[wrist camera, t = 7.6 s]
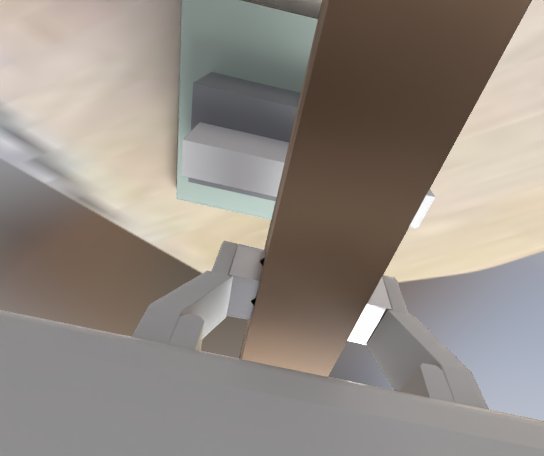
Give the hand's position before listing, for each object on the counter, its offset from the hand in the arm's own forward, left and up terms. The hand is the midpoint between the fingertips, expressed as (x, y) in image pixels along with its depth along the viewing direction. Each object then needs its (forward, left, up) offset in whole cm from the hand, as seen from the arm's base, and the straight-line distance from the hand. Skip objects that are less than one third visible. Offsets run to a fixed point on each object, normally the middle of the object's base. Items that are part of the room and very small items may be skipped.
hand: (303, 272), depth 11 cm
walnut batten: (0, 0, -2) cm, 2 cm away
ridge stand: (0, 0, -15) cm, 15 cm away
